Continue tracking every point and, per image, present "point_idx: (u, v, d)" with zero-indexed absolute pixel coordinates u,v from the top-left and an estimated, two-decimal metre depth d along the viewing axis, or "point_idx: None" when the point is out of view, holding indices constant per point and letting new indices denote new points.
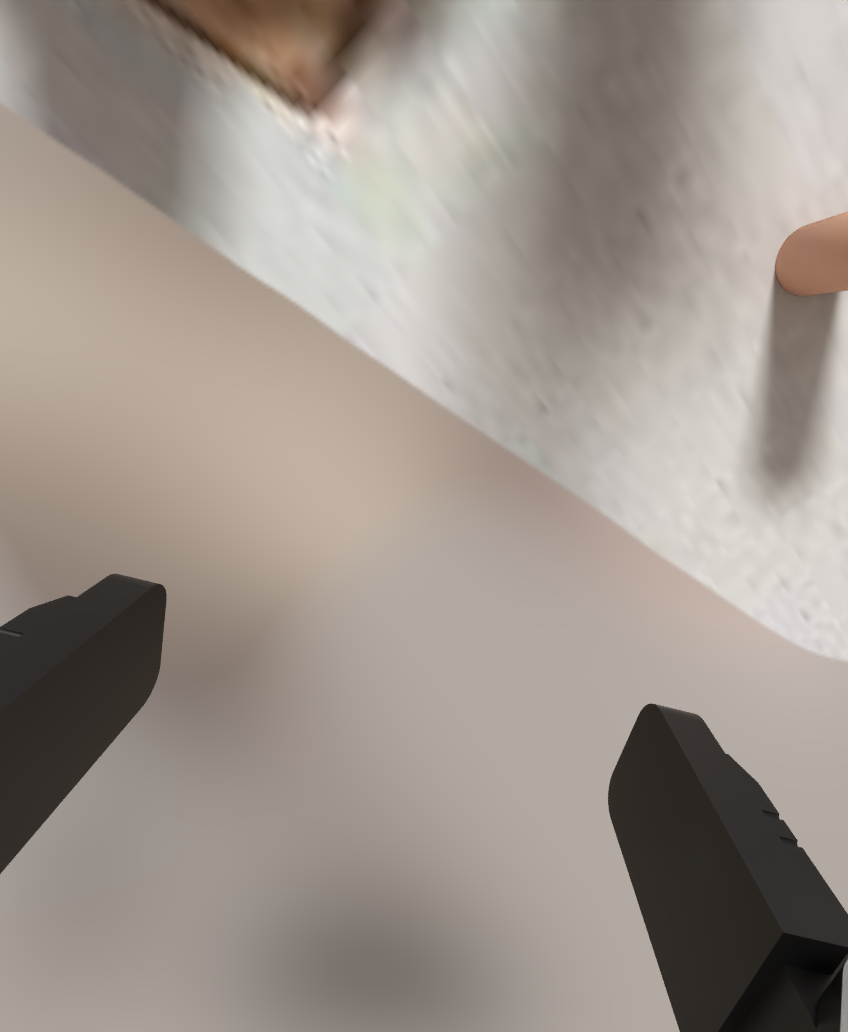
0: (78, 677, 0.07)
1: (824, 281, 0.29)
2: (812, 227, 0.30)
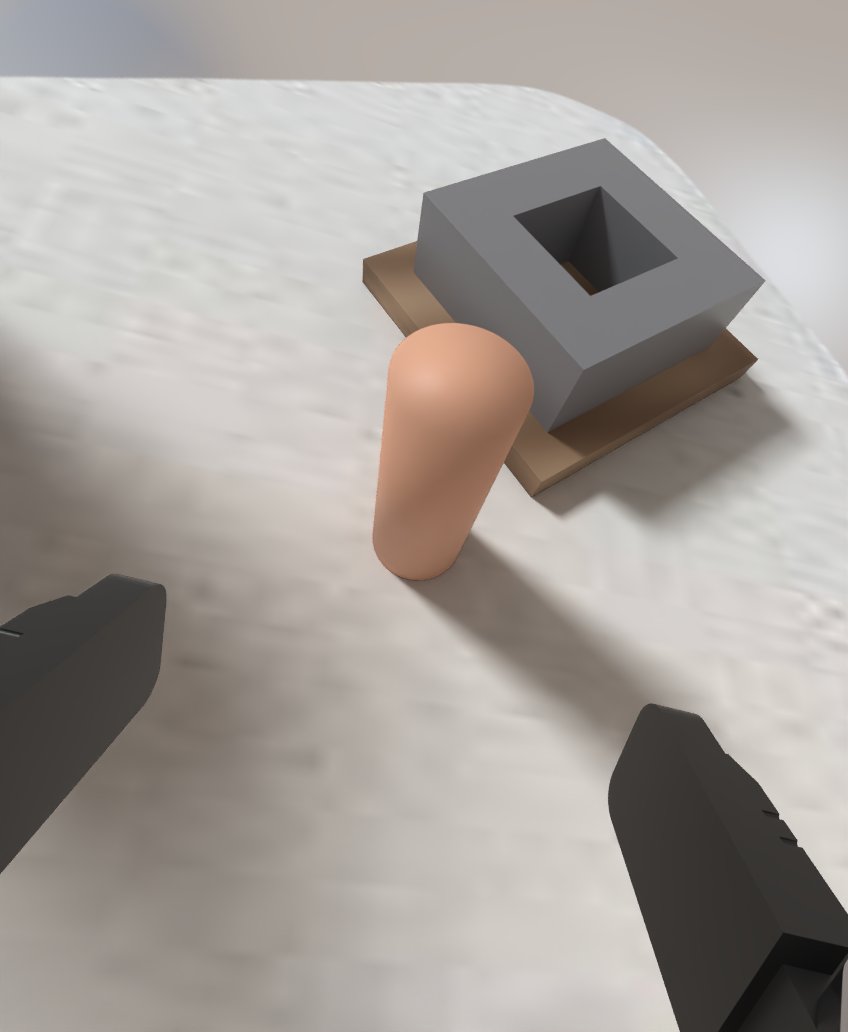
0: (78, 677, 0.07)
1: (434, 547, 0.20)
2: (374, 517, 0.22)
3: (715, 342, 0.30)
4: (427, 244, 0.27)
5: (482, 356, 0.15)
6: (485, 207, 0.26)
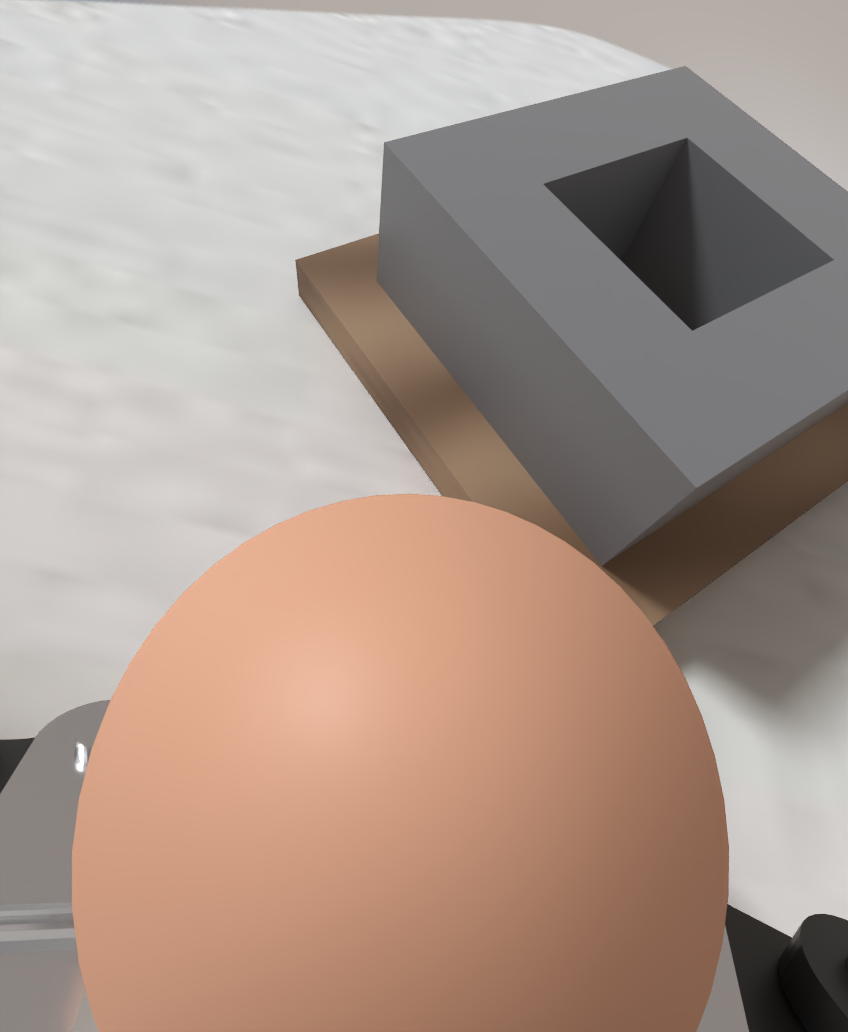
0: None
1: None
2: None
3: None
4: (394, 235, 0.16)
5: (507, 643, 0.04)
6: (494, 169, 0.14)
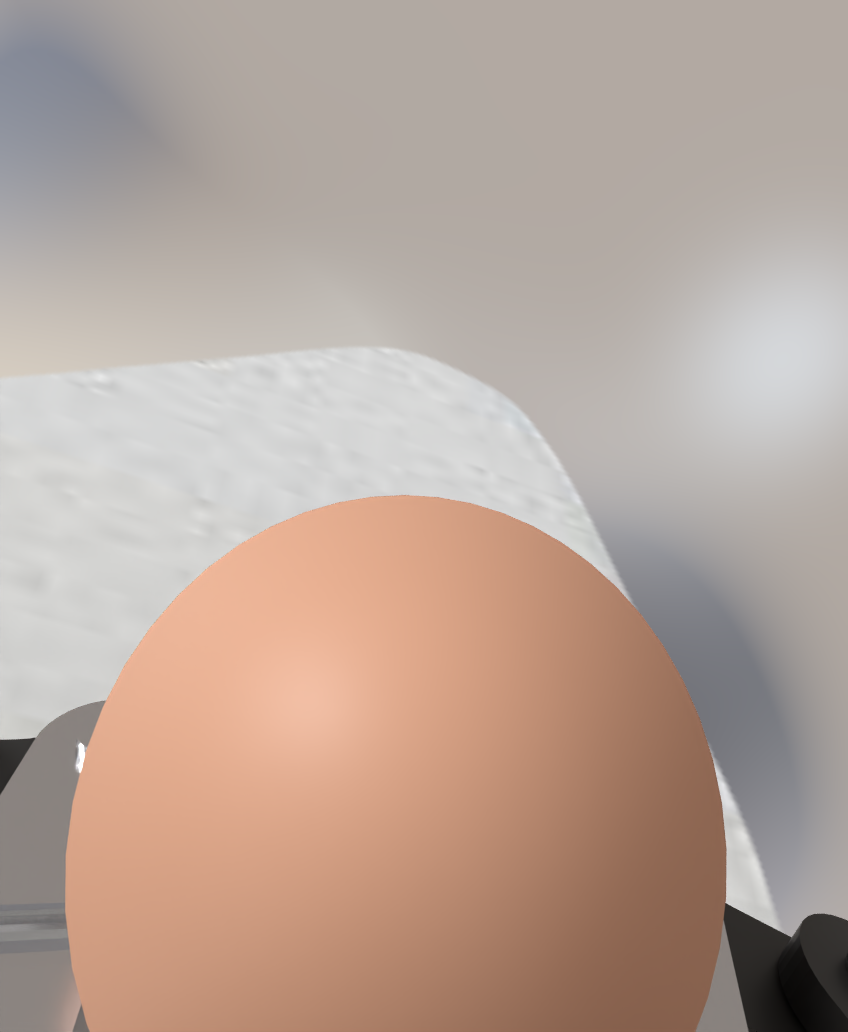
0: None
1: None
2: None
3: None
4: None
5: (503, 645, 0.04)
6: None
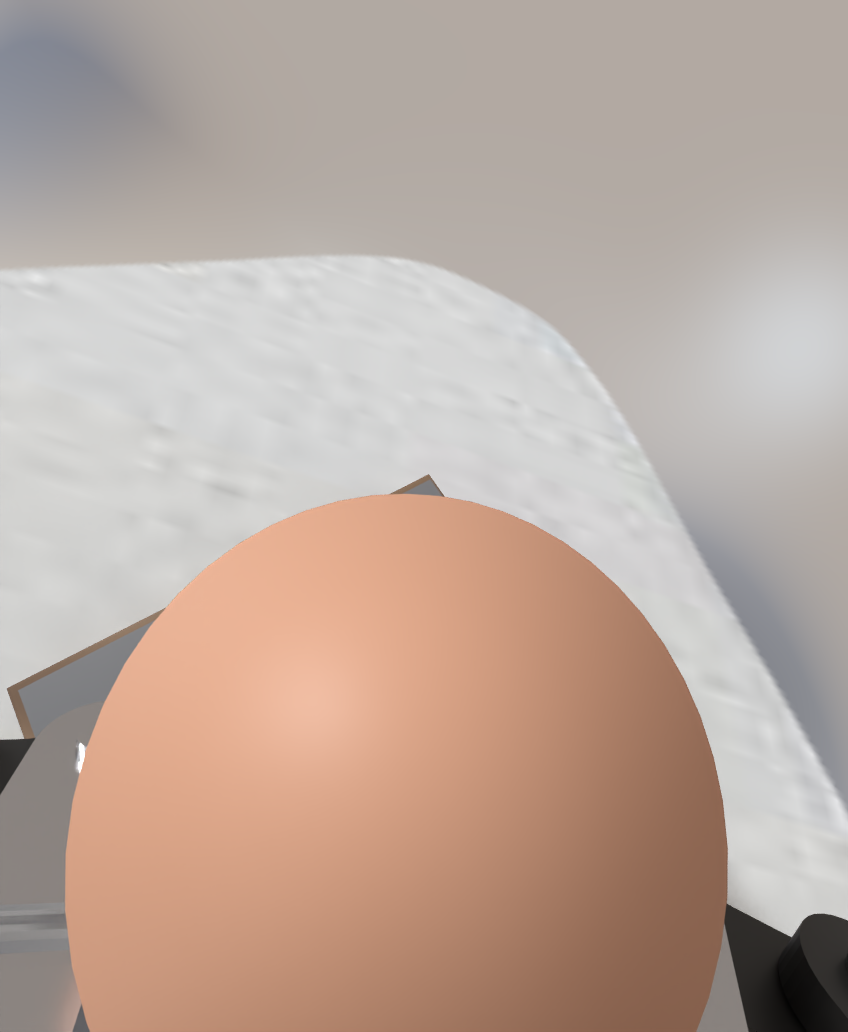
0: None
1: None
2: None
3: None
4: None
5: (504, 643, 0.04)
6: None
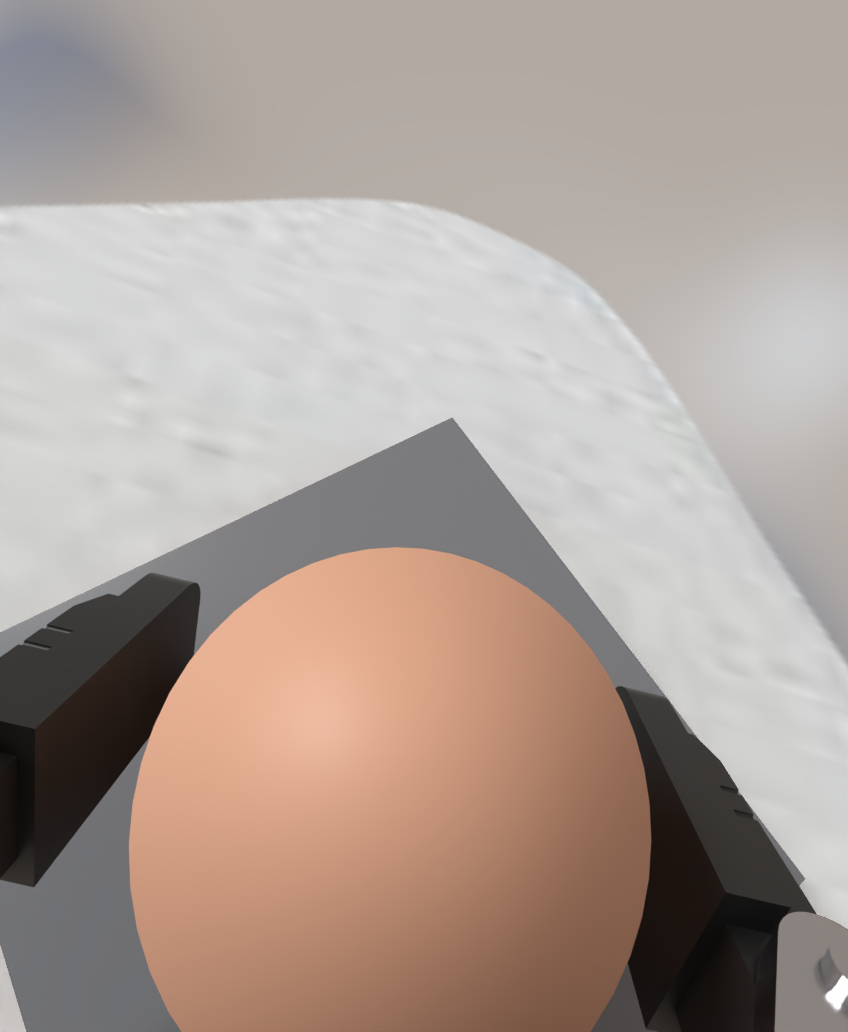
0: (125, 671, 0.07)
1: None
2: None
3: None
4: None
5: (475, 674, 0.05)
6: None
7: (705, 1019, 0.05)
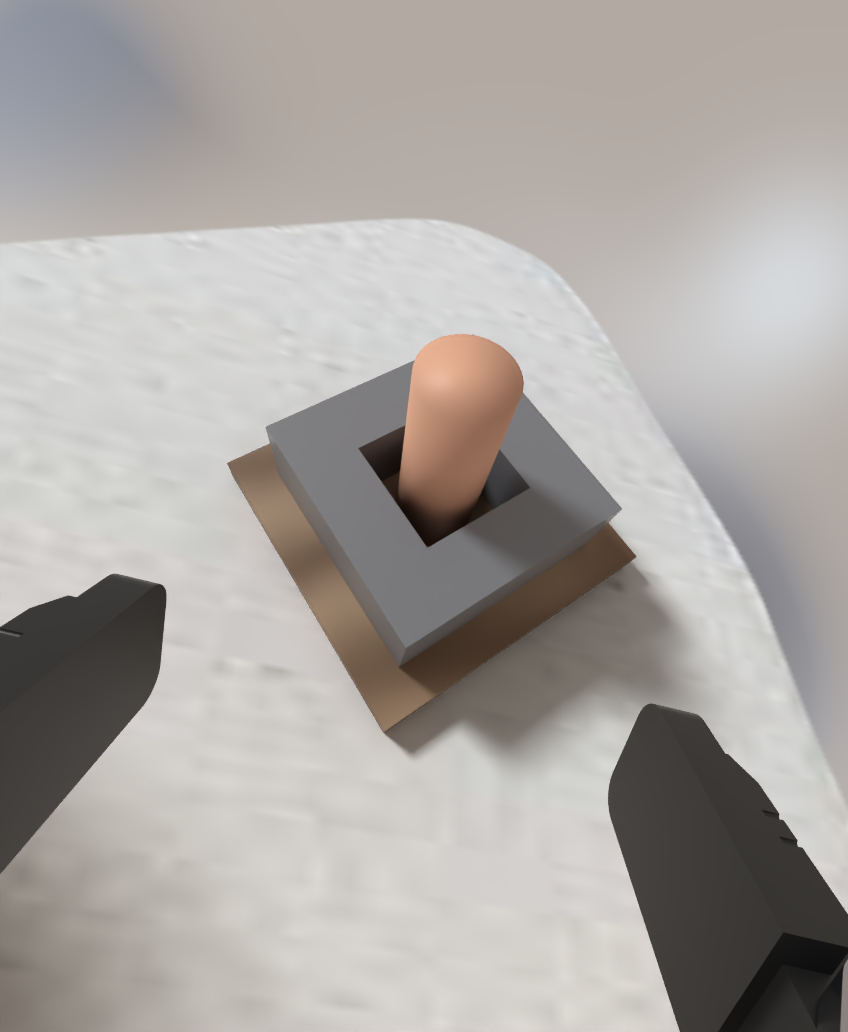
0: (78, 677, 0.07)
1: (448, 514, 0.25)
2: None
3: (592, 538, 0.29)
4: (280, 464, 0.27)
5: (483, 359, 0.20)
6: (329, 439, 0.25)
7: None
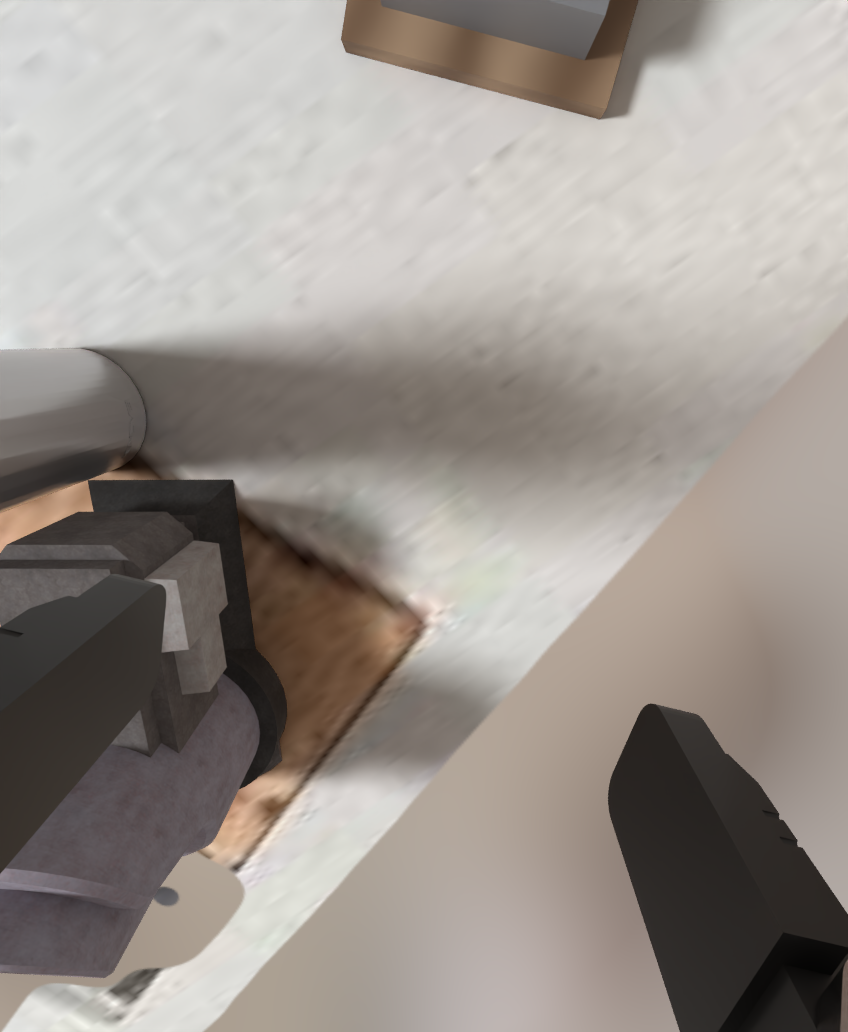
0: (78, 677, 0.07)
1: None
2: None
3: None
4: None
5: None
6: None
7: None
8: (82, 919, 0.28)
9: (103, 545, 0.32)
